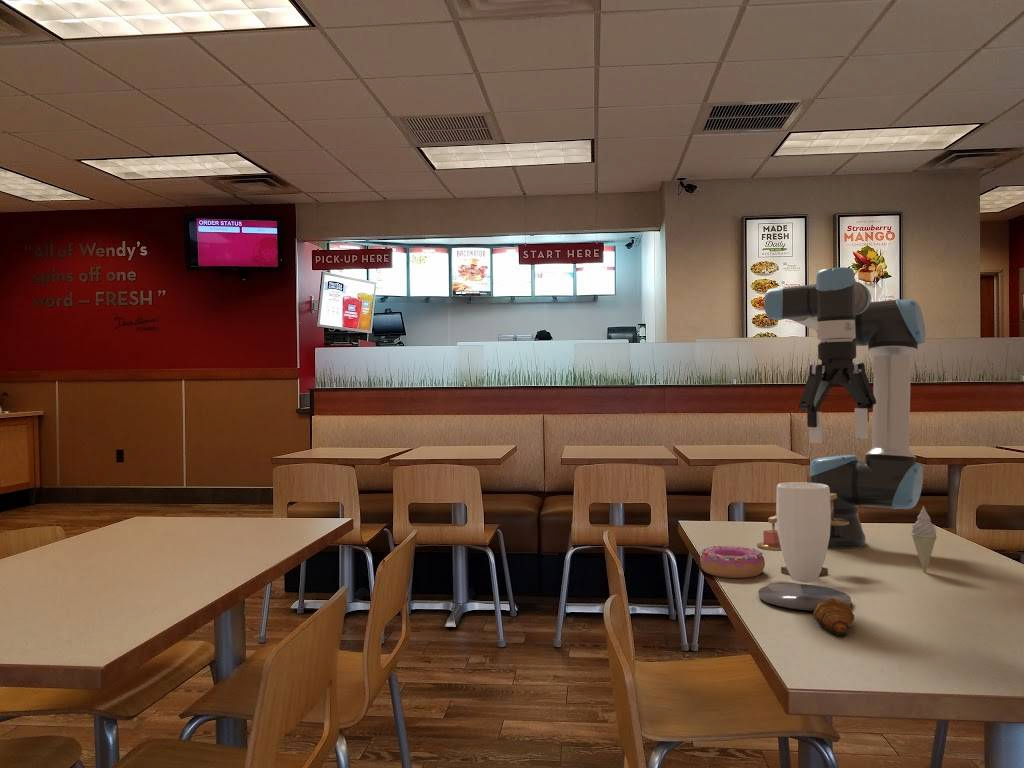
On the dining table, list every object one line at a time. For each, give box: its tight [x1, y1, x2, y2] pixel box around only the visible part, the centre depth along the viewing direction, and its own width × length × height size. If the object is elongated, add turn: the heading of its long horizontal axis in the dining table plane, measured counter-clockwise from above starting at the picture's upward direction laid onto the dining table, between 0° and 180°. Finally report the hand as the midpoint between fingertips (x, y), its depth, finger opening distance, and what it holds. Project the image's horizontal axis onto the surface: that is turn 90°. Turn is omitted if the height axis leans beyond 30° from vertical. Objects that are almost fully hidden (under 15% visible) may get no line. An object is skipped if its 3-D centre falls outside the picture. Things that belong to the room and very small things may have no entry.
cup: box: [775, 481, 831, 584], centre depth 150 cm, size 10×10×22 cm
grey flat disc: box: [757, 583, 852, 612], centre depth 150 cm, size 17×17×1 cm
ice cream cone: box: [911, 505, 938, 573], centre depth 171 cm, size 5×5×15 cm
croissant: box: [813, 599, 855, 637], centre depth 134 cm, size 14×7×5 cm, turn 169°
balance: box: [756, 493, 849, 576], centre depth 171 cm, size 25×7×17 cm, turn 116°
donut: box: [699, 545, 766, 579], centre depth 174 cm, size 14×14×5 cm
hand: (839, 440), depth 163 cm, fingers open, 13 cm apart
